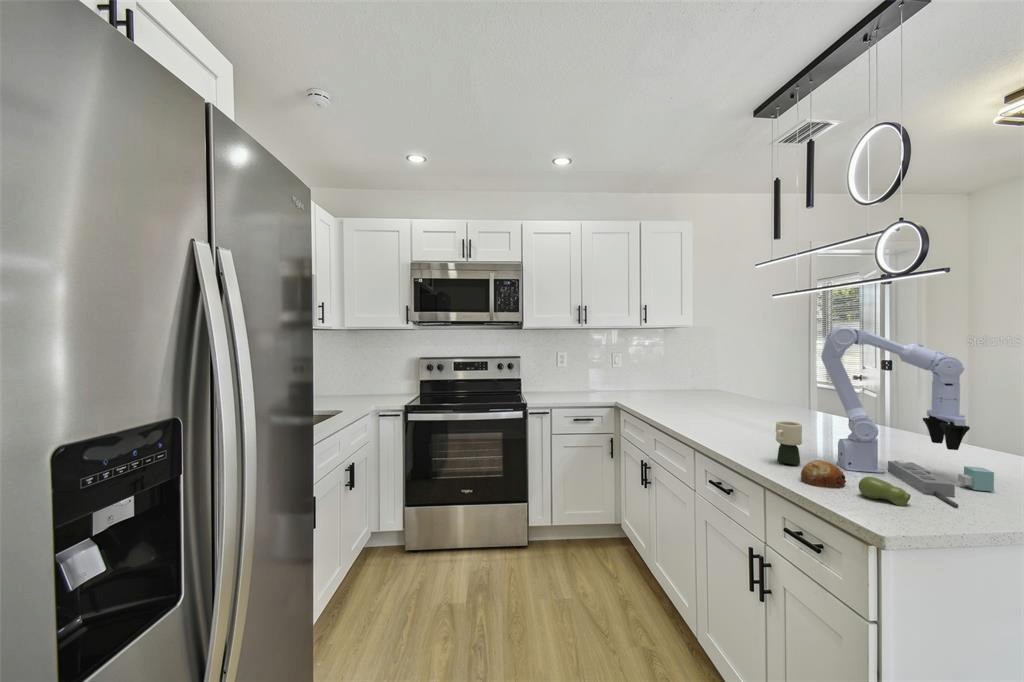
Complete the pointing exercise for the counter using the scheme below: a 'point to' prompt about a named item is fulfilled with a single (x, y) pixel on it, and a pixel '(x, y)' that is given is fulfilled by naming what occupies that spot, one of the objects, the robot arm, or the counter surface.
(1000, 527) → the counter surface
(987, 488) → the block
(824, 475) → the bread roll
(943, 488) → the power strip
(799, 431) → the character mug
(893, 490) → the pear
